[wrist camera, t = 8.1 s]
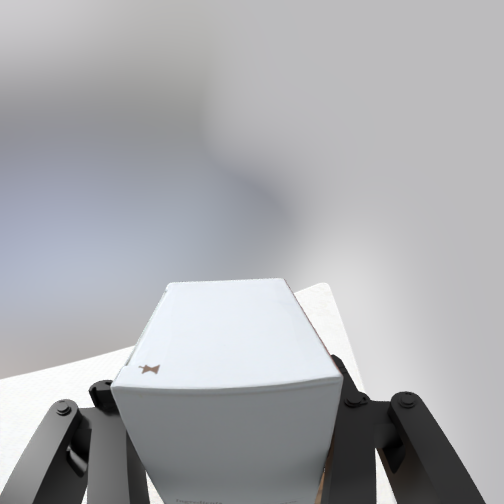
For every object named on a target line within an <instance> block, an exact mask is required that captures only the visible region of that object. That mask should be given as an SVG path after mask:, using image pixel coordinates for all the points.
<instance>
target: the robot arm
mask: <svg viewBox="0 0 504 504" xmlns="http://www.w3.org/2000/svg"><path fill="white" fill-rule="evenodd" d="M331 357H332V359H333V360H334V362H335V364H336V366H337V367H338V369H339V370H340V372H341V374H342V375H343V384H342V389H341V395H340V400H339V405H338V410H337V415H336V420H335V425H334V430H333V435H332V439H331V444H330V448H329V452H328V456H327V460H326V465H325V473H324V481H323V489H322V495H321V502H320V504H376V460H375V448H376V449H377V451H378V454H379V456H380V459H381V462H382V464H383V467H384V469H385V472H386V475H387V477H388V480H389V483H390V485H391V488H392V491H393V493H394V496H395V499H396V501H397V504H486V503H485V502H484V500H483V498H482V496H481V494H480V493H479V491H478V489H477V487H476V485H475V484H474V482H473V480H472V479H471V477H470V475H469V473H468V472H467V470H466V468H465V467H464V465H463V463H462V462H461V460H460V458H459V457H458V455H457V453H456V452H455V450H454V448H453V447H452V445H451V444H450V442H449V441H448V439H447V437H446V436H445V434H444V433H443V431H442V429H441V428H440V426H439V425H438V423H437V422H436V420H435V419H434V417H433V416H432V414H431V413H430V411H429V410H428V408H427V407H426V405H425V404H424V402H423V401H422V399H421V398H420V397H419V396H418V395H417V394H414V393H412V392H399V393H396V394H395V395H394V396H393V397H392V399H391V401H390V402H389V401H372V400H370V398H369V397H368V396H367V395H366V394H365V393H362V392H360V391H358V390H357V388H356V386H355V384H354V382H353V380H352V378H351V377H350V375H349V373H348V371H347V369H346V368H345V366H344V364H343V362H342V360H341V359H339V358H338V357H337V356H335V355H331ZM112 382H113V381H112V380H102V381H99V382H96V383H94V384H93V385H92V386H91V387H90V389H89V394H90V396H91V398H92V401H93V403H94V405H95V407H92V408H78V406H77V404H76V403H75V402H74V401H72V400H69V399H63V400H59V401H57V402H55V403H54V404H53V405H52V406H51V407H50V409H49V411H48V412H47V414H46V415H45V417H44V418H43V420H42V422H41V423H40V425H39V427H38V428H37V430H36V431H35V433H34V435H33V436H32V438H31V440H30V441H29V443H28V445H27V447H26V448H25V450H24V452H23V454H22V455H21V457H20V459H19V461H18V463H17V464H16V466H15V468H14V470H13V472H12V474H11V475H10V477H9V479H8V481H7V483H6V485H5V487H4V489H3V491H2V493H1V495H0V504H81V503H82V500H83V497H84V494H85V491H86V488H87V504H150V500H149V494H148V487H147V479H146V471H145V468H144V466H143V464H142V462H141V460H140V458H139V456H138V453H137V451H136V449H135V447H134V445H133V443H132V441H131V439H130V436H129V434H128V432H127V429H126V427H125V425H124V422H123V420H122V417H121V415H120V412H119V410H118V407H117V405H116V402H115V400H114V397H113V395H112V392H111V388H110V387H111V384H112ZM87 485H88V486H87Z"/></svg>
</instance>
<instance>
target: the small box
mask: <svg viewBox="0 0 504 504" xmlns="http://www.w3.org/2000/svg"><path fill="white" fill-rule="evenodd" d="M342 384H343V375H342V374H341V372H340V370H339V369H338V367H337V366H336V364H335V362H334V360H333V359H332V357H331V355H330V354H329V352H328V350H327V349H326V347H325V345H324V344H323V342H322V340H321V339H320V337H319V335H318V334H317V332H316V330H315V329H314V327H313V326H312V324H311V322H310V321H309V319H308V317H307V316H306V314H305V312H304V311H303V309H302V307H301V306H300V304H299V302H298V301H297V299H296V297H295V296H294V294H293V292H292V291H291V289H290V287H289V286H288V284H287V282H286V281H285V279H283V278H278V279H274V278H273V279H252V280H228V281H204V282H203V281H202V282H173V283H169V284H168V286H167V287H166V290H165V292H164V294H163V296H162V298H161V300H160V302H159V304H158V305H157V307H156V309H155V311H154V313H153V314H152V316H151V318H150V320H149V322H148V324H147V326H146V327H145V329H144V331H143V333H142V335H141V337H140V338H139V340H138V341H137V343H136V345H135V347H134V349H133V351H132V352H131V354H130V356H129V357H128V359H127V361H126V363H125V364H124V366H123V367H122V368H121V370H120V371H119V373H118V375H117V376H116V378H115V379H114V381H113V382H112V384H111V387H110V388H111V392H112V395H113V397H114V400H115V402H116V405H117V407H118V410H119V412H120V415H121V417H122V420H123V422H124V425H125V427H126V429H127V432H128V434H129V436H130V439H131V441H132V443H133V445H134V447H135V449H136V451H137V453H138V456H139V458H140V460H141V462H142V464H143V466H144V468H145V470H146V472H147V474H148V476H149V477H150V479H151V481H152V483H153V485H154V487H155V488H156V490H157V492H158V494H159V496H160V497H161V499H162V500H163V502H164V504H314V503H315V499H316V496H317V493H318V489H319V486H320V483H321V479H322V475H323V472H324V468H325V464H326V460H327V456H328V452H329V448H330V444H331V439H332V435H333V430H334V425H335V420H336V415H337V410H338V405H339V400H340V395H341V389H342Z"/></svg>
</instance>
